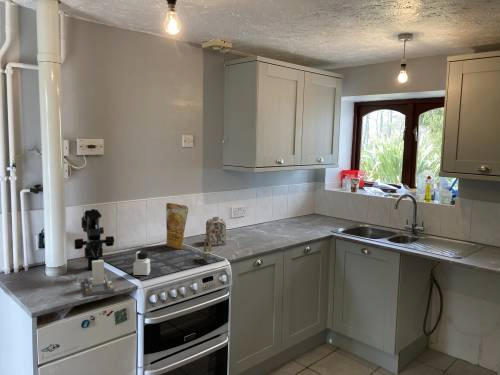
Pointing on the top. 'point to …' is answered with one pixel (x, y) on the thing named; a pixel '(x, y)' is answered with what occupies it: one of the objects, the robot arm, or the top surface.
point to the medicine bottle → (141, 263)
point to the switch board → (98, 286)
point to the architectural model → (204, 250)
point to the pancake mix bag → (175, 224)
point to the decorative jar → (216, 231)
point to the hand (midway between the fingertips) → (95, 257)
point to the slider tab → (98, 272)
